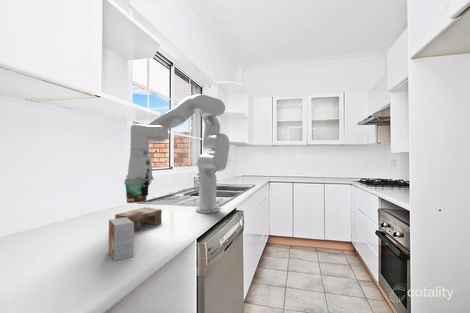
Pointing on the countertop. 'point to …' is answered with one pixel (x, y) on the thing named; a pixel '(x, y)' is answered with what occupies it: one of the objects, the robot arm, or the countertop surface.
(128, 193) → the food container
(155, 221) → the bridge shelf
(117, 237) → the small box
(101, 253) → the countertop surface
